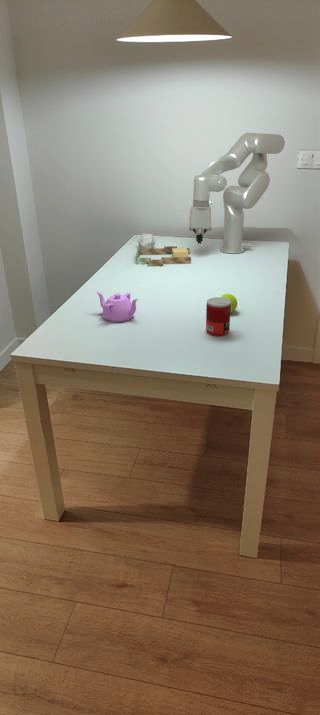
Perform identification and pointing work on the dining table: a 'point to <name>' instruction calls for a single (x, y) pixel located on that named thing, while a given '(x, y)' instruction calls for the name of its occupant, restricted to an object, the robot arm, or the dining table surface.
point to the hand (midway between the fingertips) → (199, 242)
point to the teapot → (118, 307)
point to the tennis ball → (233, 301)
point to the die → (146, 241)
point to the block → (179, 252)
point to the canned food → (218, 316)
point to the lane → (159, 262)
